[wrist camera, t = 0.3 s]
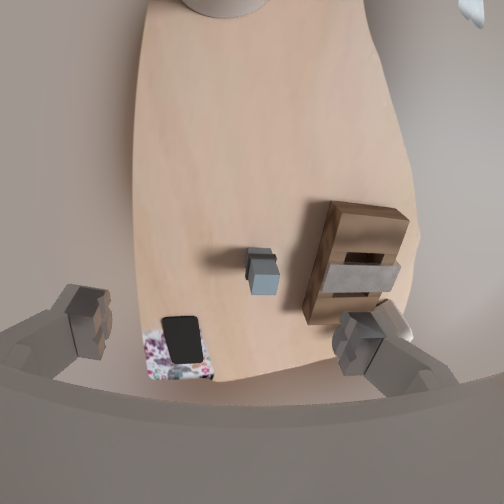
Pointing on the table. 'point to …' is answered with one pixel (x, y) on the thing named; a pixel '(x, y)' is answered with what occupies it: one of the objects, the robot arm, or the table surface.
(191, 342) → the phone
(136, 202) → the table surface
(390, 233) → the brown tissue box
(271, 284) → the blue-gray rectangular block
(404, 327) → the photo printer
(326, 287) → the white rectangular bar
